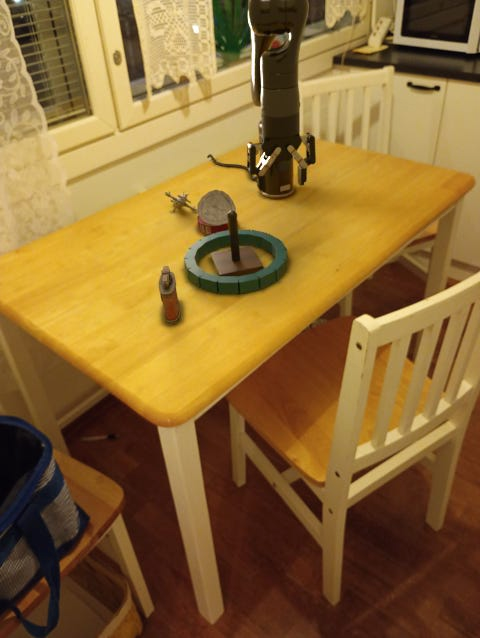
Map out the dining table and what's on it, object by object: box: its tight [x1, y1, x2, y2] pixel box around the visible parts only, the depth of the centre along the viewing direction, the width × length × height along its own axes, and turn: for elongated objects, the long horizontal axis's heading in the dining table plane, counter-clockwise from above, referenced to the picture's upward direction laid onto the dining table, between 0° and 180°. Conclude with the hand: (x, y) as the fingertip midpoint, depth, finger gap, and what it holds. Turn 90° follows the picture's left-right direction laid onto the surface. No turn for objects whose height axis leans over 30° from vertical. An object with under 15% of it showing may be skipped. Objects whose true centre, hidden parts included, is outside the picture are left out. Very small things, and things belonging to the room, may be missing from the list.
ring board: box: [209, 210, 264, 277], centre depth 117 cm, size 10×10×14 cm
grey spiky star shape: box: [164, 190, 197, 213], centre depth 144 cm, size 10×6×9 cm
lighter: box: [158, 265, 182, 325], centre depth 105 cm, size 8×3×10 cm, turn 5°
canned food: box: [196, 189, 237, 236], centre depth 135 cm, size 11×10×10 cm
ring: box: [183, 229, 288, 295], centre depth 120 cm, size 23×23×3 cm
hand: (281, 187), depth 112 cm, fingers open, 8 cm apart
